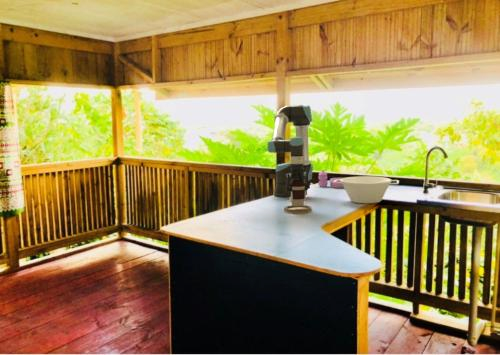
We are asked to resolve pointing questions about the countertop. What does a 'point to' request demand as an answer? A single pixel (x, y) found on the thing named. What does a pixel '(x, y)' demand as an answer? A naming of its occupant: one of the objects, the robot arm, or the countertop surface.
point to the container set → (333, 185)
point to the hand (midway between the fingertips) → (297, 201)
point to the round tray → (297, 209)
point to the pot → (366, 188)
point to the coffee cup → (298, 192)
